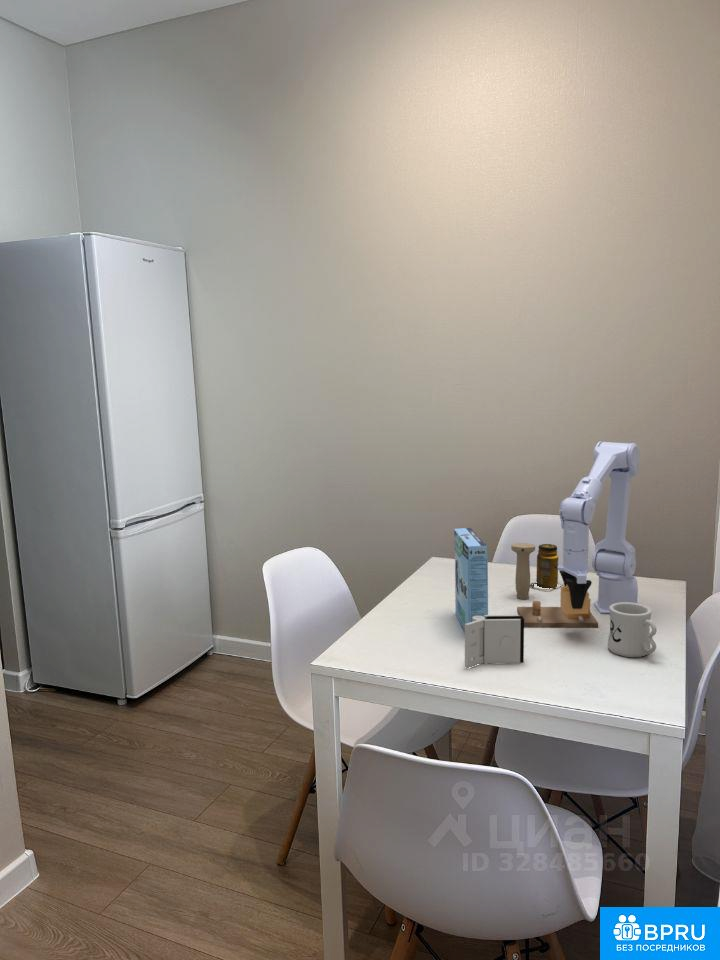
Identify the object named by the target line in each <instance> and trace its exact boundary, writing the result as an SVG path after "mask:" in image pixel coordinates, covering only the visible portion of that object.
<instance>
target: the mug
mask: <svg viewBox="0 0 720 960" xmlns="http://www.w3.org/2000/svg"><path fill="white" fill-rule="evenodd" d="M609 610H610V613H609V619H610V621H609V622H610V623H609V633H608V638H607V647H608V649H609V650H610V651H611V653H612V654H615V655H617V656H621V657H626V658H640V657H641V658H643V657H646V656H647V655H649V654H652V653H654V652H655V651H656V649H657V644H656V642H655V640H654V638H653V637H654V636H655V635H656V634H657V631H658V630H657V626H656V624H655V623H654V622H653V621H652V620H651V618H652V609H651V607H649V606H647V605H645V604H643V603H642V604H641V603H638V602H637V603H630V602H620V603H614V604H612V605H611V606H610V607H609ZM650 627H651V628H650ZM650 629H652V630H650ZM645 655H646V656H645ZM642 656H643V657H642Z"/></svg>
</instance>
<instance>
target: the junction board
mask: <svg viewBox="0 0 720 960" xmlns="http://www.w3.org/2000/svg"><path fill="white" fill-rule="evenodd" d="M541 604H542V603H541V601H539V600H532V606H517V607H516V612H517V615H519V616H523V618H524V628H557V629H558V628H561V629H562V628H565V629H566V628H568V629H569V628H576V629H577V628H578V629H580V628H581V629H582V628H583V629H584V628H587V629H588V628H592V629H594V628H599V621H598V620H597V619H596V617H595V616H594V615H593V613H592V612H591V598H590V597H589V611H588V614H565V613H564V611H563V610H562V608H561V606H541Z"/></svg>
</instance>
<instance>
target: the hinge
mask: <svg viewBox="0 0 720 960" xmlns="http://www.w3.org/2000/svg"><path fill="white" fill-rule="evenodd" d="M524 652H525V627H524V618H523V616H519V614H488V615H484V617H483V616H473V617H472V622H470V623H467V624H465V631H464V668H465V667H466V668H469V667H472V666H475V665H477V664H481V663H520V662H524V661H525V659H524V658H525V657H524V656H525V654H524ZM524 663H525V662H524ZM520 664H521V663H520ZM481 665H482V664H481ZM475 667H476V666H475Z"/></svg>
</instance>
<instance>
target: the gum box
mask: <svg viewBox="0 0 720 960" xmlns="http://www.w3.org/2000/svg"><path fill="white" fill-rule="evenodd" d="M453 531H454V587H455V588H454V589H455V590H454V591H455V592H454V593H455V600H454V601H455V606H454V607H455V614H456V617H457V620H458V621H459V623H460V625H461V627H462V629H463V631H464V632H465V624H467V623H470V622H472V617H473V616H483V617H484V615H489V575H488V574H489V572H488V569H489V565H488V563H489V560H488V559H489V557H488V555H489V553H488V550H489V549H488V545H487V544H486V543H485V542H484V541H483V539H482V538H481V537H480V536H479V535H478V534H477V533H476V531H474V529H473V528H472V527H464V528H463V527H462V528H461V527H460V528H454V529H453Z"/></svg>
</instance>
